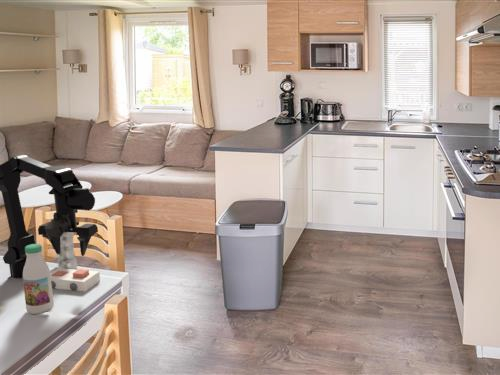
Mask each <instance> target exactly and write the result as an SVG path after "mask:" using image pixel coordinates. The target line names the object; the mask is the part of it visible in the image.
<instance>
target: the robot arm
mask: <svg viewBox="0 0 500 375" xmlns="http://www.w3.org/2000/svg"><path fill="white" fill-rule="evenodd" d="M24 172H26V173H28V174H30V175H33V176H35V177H37V178H40V179H42V180H44V183H45V185H48V186H49V187H50V188H51V189H50V190H49V192H48V195H53V196H54V198H53V199H54V205H55V206H54V207H55V212H54V213H53V215H52V216H53V218H52V220H50V221H48V222H45V223H42V224H41V225H39V226H38V228H37V231H38V232H37V234H38V235H40V236H42V238H45V239H47V240H48V241H49V243H50V244H51V246H52V247H53V250H54V252H55V253H56V255H58V254H60V236H62V234H63V233H67V232H74V233H76V235H77V236H78V237H76V239H77V240H78V241H79V248H80V254H81V257H84V256H85V255H86V252H87V249H88V246H89V243H90V241H91V238H92V236H95V234H97V233H99V230H98V229H99V228H98V226H97V224H96V223H85V224H83V225H80V222H79V221H77V216H76V214H77V213H78V211H80V210H81V211H88V212H89V211H91V210H92V209H93V208H94V207H95V204H96V197H95V196H94V194H93V193H92V192H90V189H89V187H84V188H83V185H82V183H81V182H80V180H79V179H78V177H77V176H76V174H75V173H74V171H73V170H72V169H71V168H70V167H66V166H54V165H49V164H47V163H44V162H42V161H40V160H36V159H34V158H32V157H30V156H28V155H25V154H20V155H14V156H12V157H11V158H9V159H8V160H7V161H5V162H2V163H1V164H0V193H1V195H2V199H3V203H4V209H5V213H6V219H7V224H8V227H9V232H10V235H9V237H8V240H7V251H6V253H4V255H3V257H2V260H3V262H4V264H7V265H8V266H9V275H10V276H9V277H7V280H9V279H11V278H12V279H13V278H14V279H23V269H24V266H25V263H26V259H27V255H26V252H25V247H26V246H28V245H31V244H37V243H36V241H35V240H36V239H35V235H34V234H30V232H28V231H27V228H26V223H25V219H24V214H23V209H22V205H21V200H20V195H19V186H20V184H21V181H22V179H21V178H22V177H21V174H23V173H24ZM79 225H80V226H79ZM71 229H72V230H71Z"/></svg>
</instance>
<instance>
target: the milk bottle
mask: <svg viewBox="0 0 500 375" xmlns="http://www.w3.org/2000/svg"><path fill="white" fill-rule="evenodd" d="M42 246H43V245H41V244H40V243H36V244H31V245H28V246H26V247H25V252H26V255H27V259H26V263H25V266H24V269H23V278H22V283H23V291H24V292H23V293H24V299H25V300H24V301H25V310H26V311H27V314H28V313H29V314H31V315H40V314H45V313H48V312H49V311H48V310H51V309H52V308H53V307H54V306H55V305H54V294H53V288H52V284H51V276H50V271H51V270H50V267H49V265H48V264H47V262H46V261H45V259H44V256H43V254H42V253H43V247H42Z"/></svg>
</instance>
